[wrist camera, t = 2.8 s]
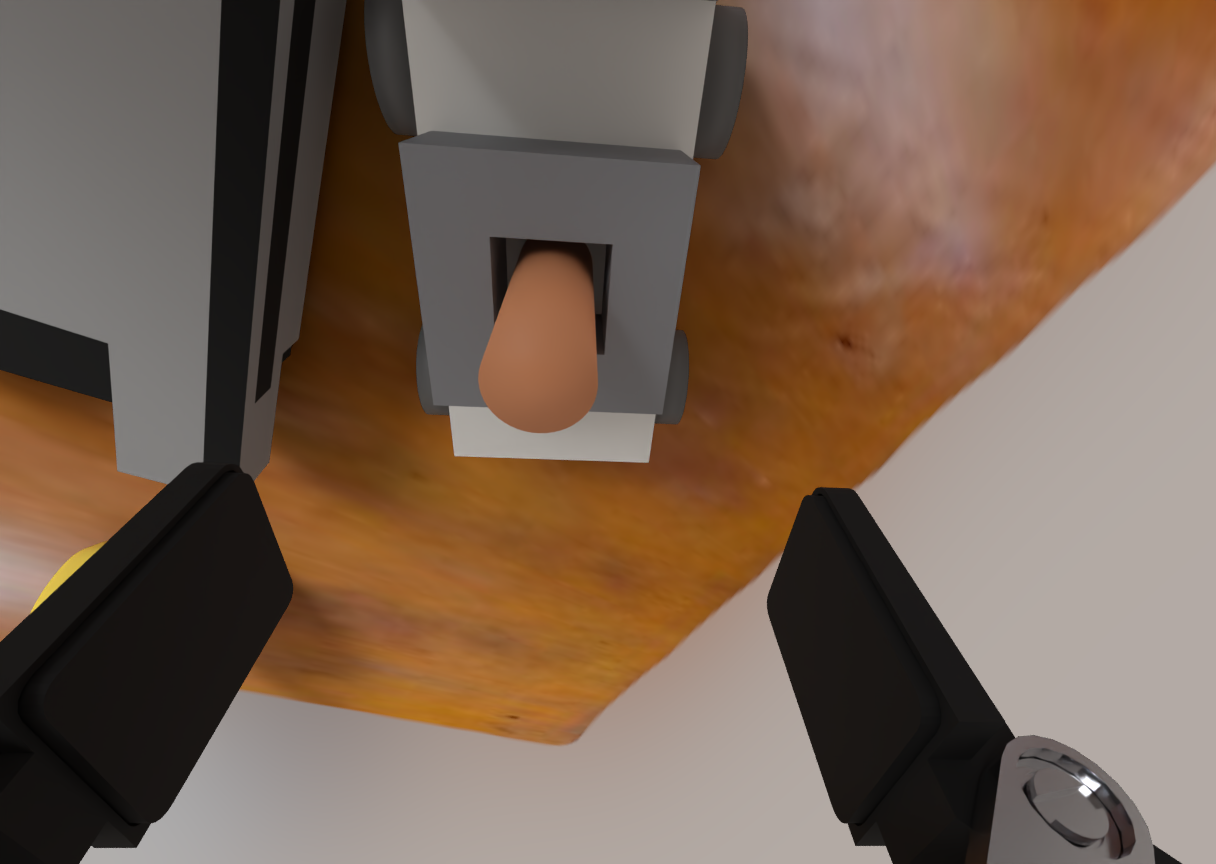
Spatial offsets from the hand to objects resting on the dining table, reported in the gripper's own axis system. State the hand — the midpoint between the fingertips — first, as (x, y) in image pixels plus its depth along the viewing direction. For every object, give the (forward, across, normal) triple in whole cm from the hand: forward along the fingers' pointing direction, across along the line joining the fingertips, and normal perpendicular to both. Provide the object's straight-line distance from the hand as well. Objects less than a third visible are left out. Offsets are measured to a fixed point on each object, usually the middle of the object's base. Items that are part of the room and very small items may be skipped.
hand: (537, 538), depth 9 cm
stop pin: (+15, 0, 0) cm, 15 cm away
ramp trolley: (+20, +1, -1) cm, 21 cm away
